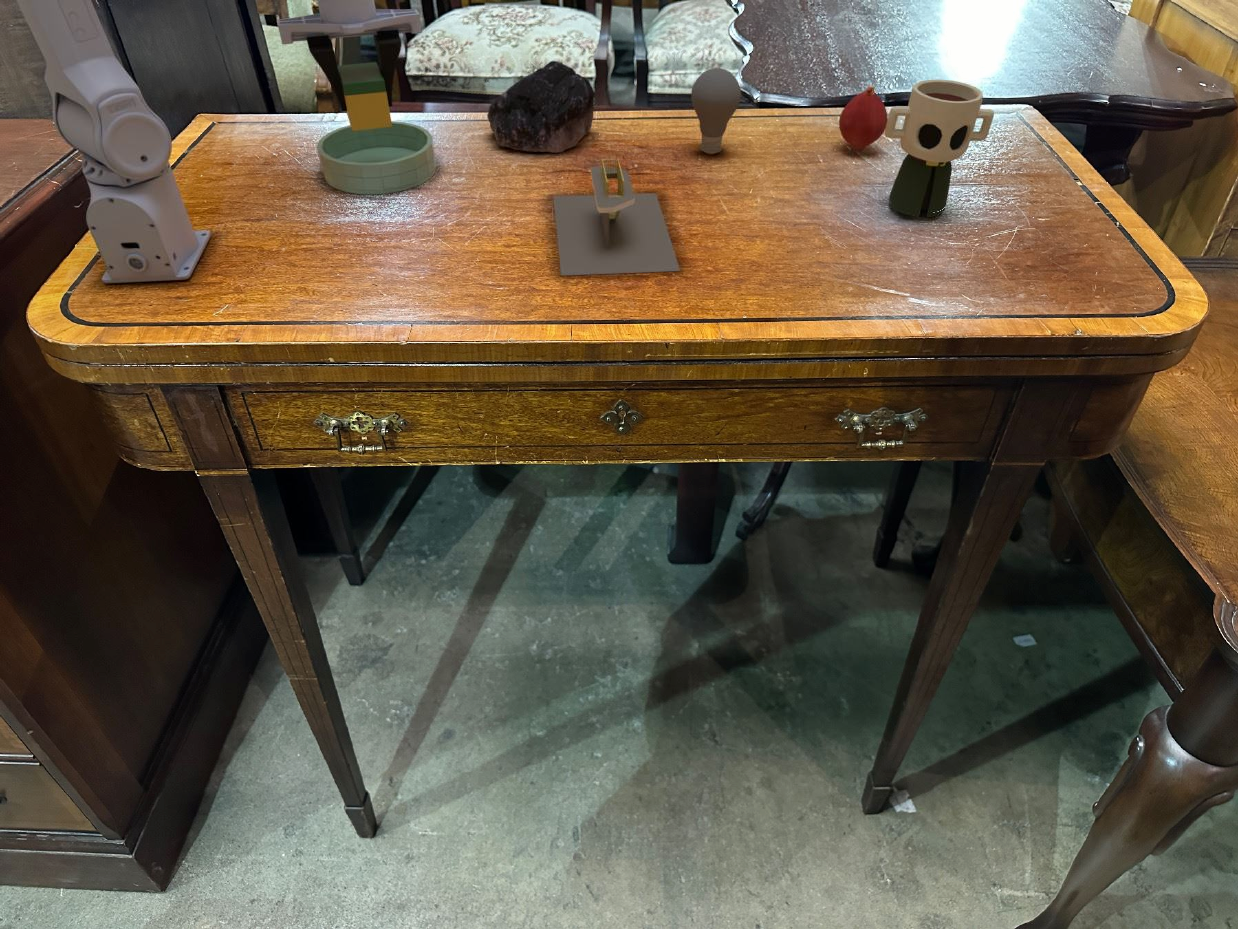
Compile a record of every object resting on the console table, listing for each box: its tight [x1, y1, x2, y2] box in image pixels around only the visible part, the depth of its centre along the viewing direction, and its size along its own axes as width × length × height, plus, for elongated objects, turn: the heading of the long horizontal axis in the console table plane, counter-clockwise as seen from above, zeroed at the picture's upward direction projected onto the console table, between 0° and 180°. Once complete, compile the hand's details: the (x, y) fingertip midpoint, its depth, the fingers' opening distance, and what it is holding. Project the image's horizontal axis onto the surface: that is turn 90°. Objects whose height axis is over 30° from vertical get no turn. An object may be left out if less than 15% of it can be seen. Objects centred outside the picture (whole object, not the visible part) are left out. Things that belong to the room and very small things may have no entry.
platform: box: [552, 158, 681, 276], centre depth 86 cm, size 12×18×7 cm, turn 6°
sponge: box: [337, 61, 392, 131], centre depth 92 cm, size 6×4×5 cm
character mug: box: [884, 79, 995, 218], centre depth 89 cm, size 11×7×13 cm, turn 87°
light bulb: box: [690, 67, 742, 155], centre depth 101 cm, size 6×6×10 cm
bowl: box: [316, 120, 437, 195], centre depth 97 cm, size 13×13×4 cm
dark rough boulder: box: [486, 60, 595, 153], centre depth 104 cm, size 13×14×10 cm
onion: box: [838, 85, 888, 152], centre depth 103 cm, size 6×6×8 cm
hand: (365, 106), depth 93 cm, fingers closed on sponge, 4 cm apart
